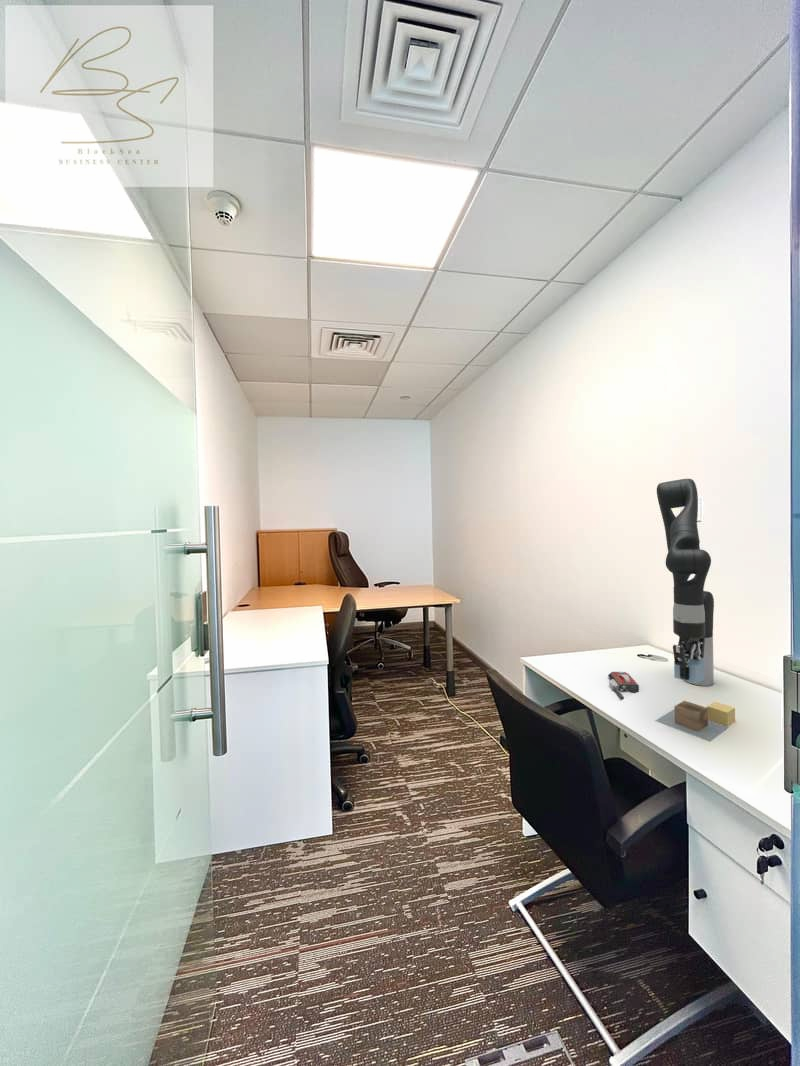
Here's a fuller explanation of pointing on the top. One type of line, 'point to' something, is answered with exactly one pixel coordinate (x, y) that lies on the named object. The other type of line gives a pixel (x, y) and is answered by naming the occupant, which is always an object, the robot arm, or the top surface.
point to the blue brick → (692, 671)
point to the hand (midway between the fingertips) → (689, 676)
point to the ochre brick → (721, 713)
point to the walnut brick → (691, 715)
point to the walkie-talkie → (622, 683)
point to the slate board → (706, 733)
